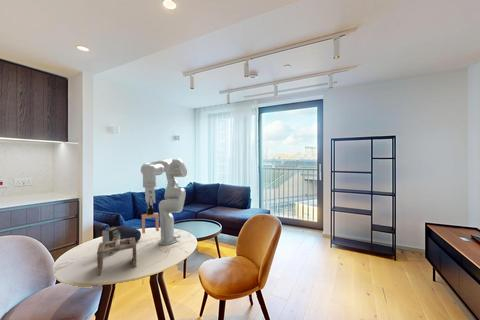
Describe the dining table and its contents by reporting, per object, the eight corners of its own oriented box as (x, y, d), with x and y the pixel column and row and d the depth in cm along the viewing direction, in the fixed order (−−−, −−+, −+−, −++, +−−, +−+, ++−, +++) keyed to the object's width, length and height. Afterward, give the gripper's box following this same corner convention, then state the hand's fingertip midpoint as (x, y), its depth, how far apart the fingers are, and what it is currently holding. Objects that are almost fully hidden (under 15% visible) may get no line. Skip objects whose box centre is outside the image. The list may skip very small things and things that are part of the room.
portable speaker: (143, 241, 166) (143, 228, 166) (131, 246, 158) (130, 232, 158) (124, 235, 179) (124, 223, 179) (112, 239, 171) (111, 226, 171)
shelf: (135, 257, 140) (134, 235, 139) (136, 267, 127) (136, 243, 127) (100, 264, 131) (99, 241, 130) (97, 275, 118) (97, 250, 118)
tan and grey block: (158, 229, 141) (157, 206, 141) (158, 231, 138) (158, 207, 137) (142, 231, 137) (141, 208, 136) (142, 233, 133) (142, 209, 133)
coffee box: (110, 255, 142) (110, 231, 142) (102, 255, 144) (101, 230, 143) (121, 249, 151) (120, 226, 151) (112, 249, 152) (112, 226, 152)
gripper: (157, 185, 131) (158, 216, 132) (154, 182, 145) (154, 210, 146) (144, 186, 128) (144, 218, 128) (141, 183, 142) (142, 211, 142)
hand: (150, 213), depth 137 cm, fingers closed on tan and grey block, 3 cm apart
